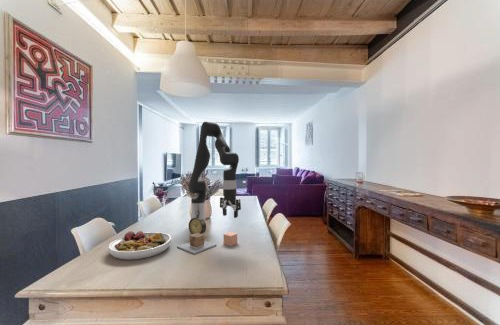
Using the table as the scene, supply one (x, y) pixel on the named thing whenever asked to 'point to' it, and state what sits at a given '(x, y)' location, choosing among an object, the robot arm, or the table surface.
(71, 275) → the table surface
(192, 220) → the alarm clock
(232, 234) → the terracotta block
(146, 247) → the bowl
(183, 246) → the grey square plate
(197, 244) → the walnut block
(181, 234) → the table surface
